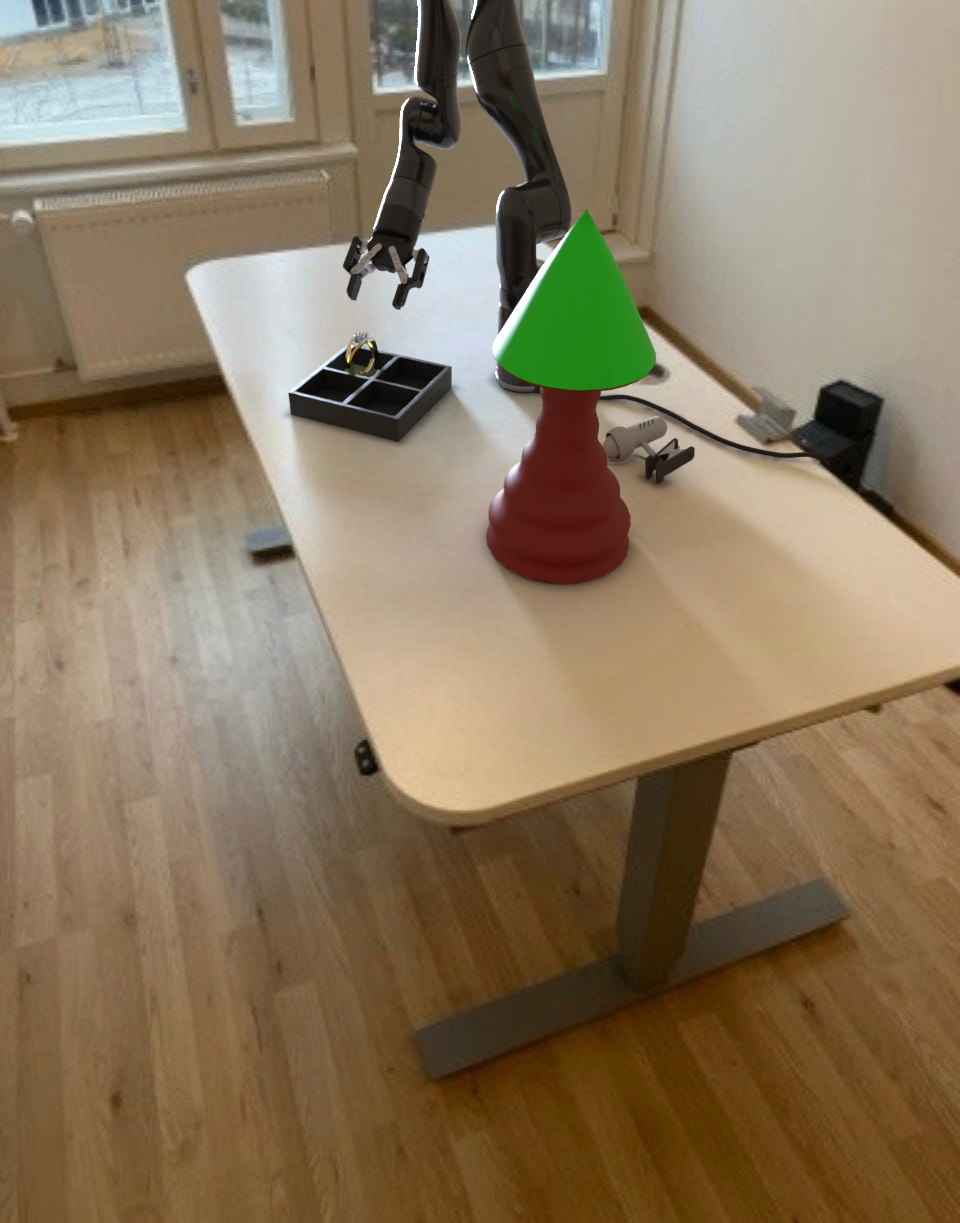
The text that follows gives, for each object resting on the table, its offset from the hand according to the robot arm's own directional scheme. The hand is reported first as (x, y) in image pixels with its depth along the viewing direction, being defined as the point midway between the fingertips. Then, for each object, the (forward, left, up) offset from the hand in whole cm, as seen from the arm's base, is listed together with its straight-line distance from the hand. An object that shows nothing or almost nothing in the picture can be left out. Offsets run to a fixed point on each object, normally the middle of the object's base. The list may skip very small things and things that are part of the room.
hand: (373, 303), depth 164 cm
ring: (0, +5, -12) cm, 13 cm away
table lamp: (-47, +34, -13) cm, 59 cm away
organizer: (-5, +10, -12) cm, 17 cm away
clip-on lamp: (-50, +12, -13) cm, 53 cm away
